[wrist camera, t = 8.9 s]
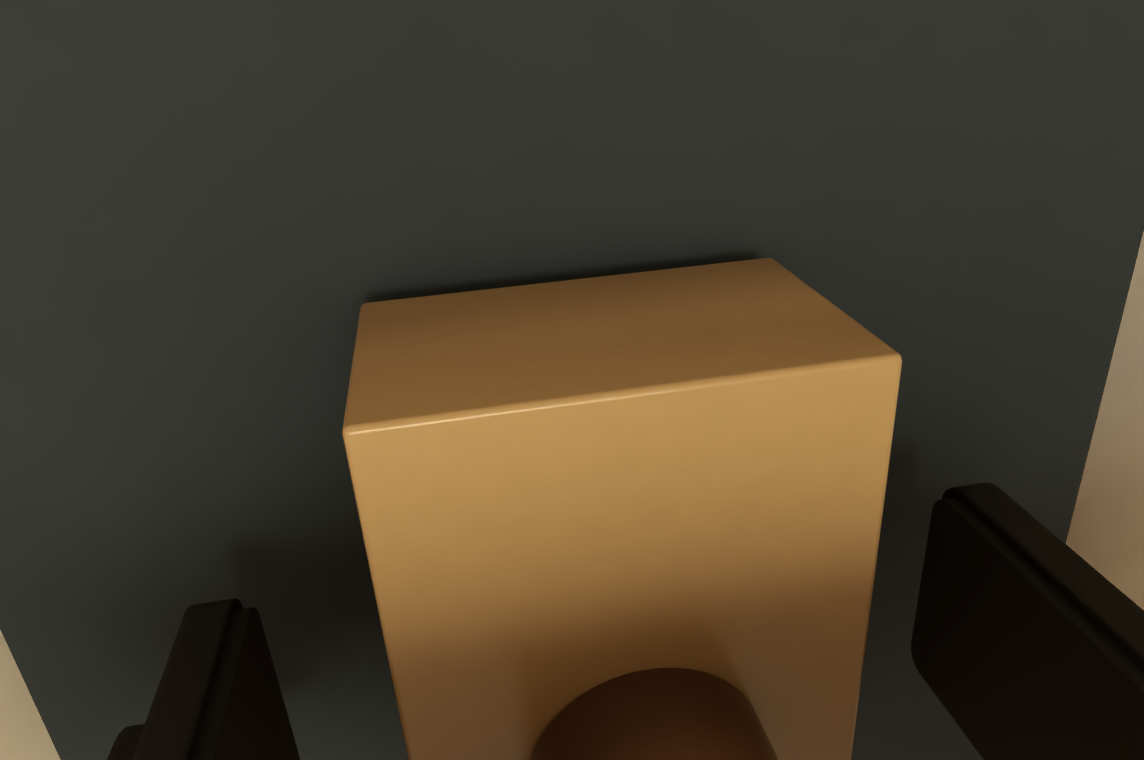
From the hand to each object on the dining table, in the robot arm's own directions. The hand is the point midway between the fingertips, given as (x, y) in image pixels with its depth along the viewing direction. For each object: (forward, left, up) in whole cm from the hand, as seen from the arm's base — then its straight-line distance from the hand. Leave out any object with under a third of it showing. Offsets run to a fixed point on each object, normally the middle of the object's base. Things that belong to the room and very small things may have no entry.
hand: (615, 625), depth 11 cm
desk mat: (0, 0, -2) cm, 2 cm away
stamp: (0, 0, -1) cm, 1 cm away
